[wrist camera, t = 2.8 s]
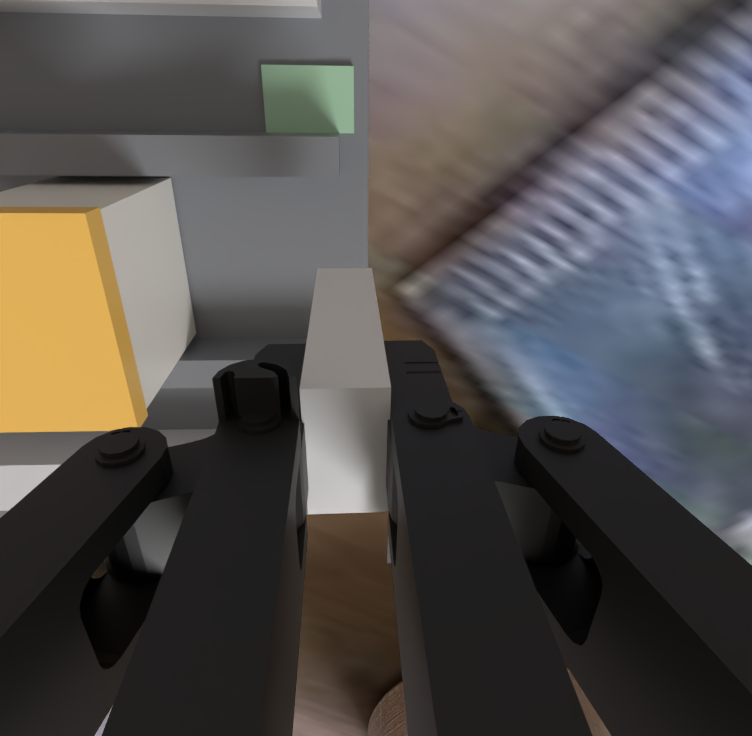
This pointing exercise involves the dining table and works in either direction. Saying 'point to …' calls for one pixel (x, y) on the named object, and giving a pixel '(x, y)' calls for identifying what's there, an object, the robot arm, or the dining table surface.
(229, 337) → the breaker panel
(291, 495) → the robot arm
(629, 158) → the dining table surface
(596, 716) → the planter
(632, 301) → the dining table surface
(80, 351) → the block
